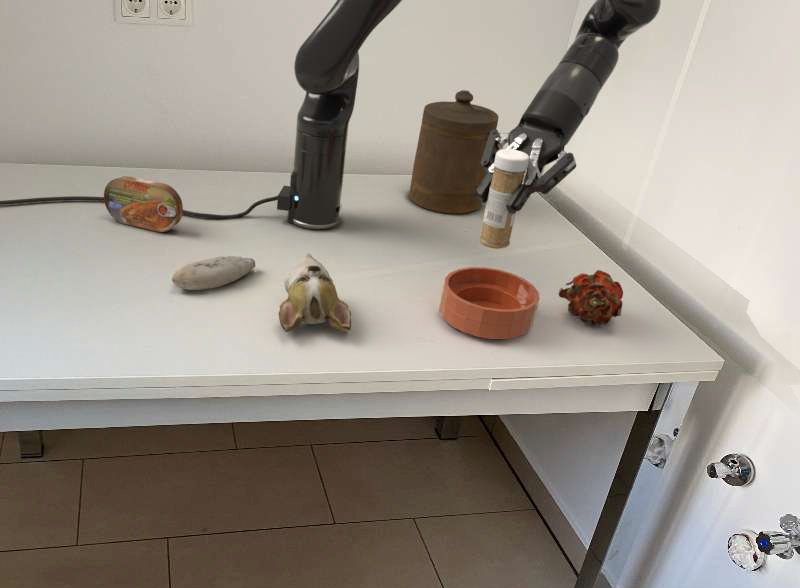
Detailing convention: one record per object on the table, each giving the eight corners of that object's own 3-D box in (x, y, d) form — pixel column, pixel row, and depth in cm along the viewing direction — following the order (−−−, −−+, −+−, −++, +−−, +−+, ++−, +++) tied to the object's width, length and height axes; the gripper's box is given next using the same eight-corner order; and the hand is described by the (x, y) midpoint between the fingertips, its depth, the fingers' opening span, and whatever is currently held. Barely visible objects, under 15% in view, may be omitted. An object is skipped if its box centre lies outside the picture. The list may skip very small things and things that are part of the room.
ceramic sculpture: (343, 244, 120) (359, 296, 109) (338, 292, 126) (353, 347, 114) (274, 243, 119) (283, 296, 107) (271, 292, 124) (279, 347, 113)
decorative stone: (264, 276, 129) (265, 257, 127) (185, 301, 120) (185, 281, 119) (241, 262, 133) (242, 243, 131) (163, 285, 124) (162, 266, 122)
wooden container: (490, 199, 166) (514, 91, 153) (464, 220, 155) (486, 106, 143) (426, 182, 172) (444, 77, 159) (396, 201, 161) (412, 90, 149)
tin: (104, 219, 144) (101, 174, 139) (113, 213, 146) (110, 169, 141) (177, 237, 140) (176, 191, 135) (185, 230, 142) (185, 185, 137)
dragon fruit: (593, 348, 120) (566, 319, 131) (645, 319, 119) (613, 292, 129) (570, 304, 117) (544, 278, 128) (624, 274, 115) (593, 250, 126)
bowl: (436, 335, 117) (442, 302, 114) (440, 292, 129) (446, 261, 126) (533, 350, 116) (542, 317, 113) (528, 305, 127) (536, 274, 124)
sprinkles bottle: (515, 246, 116) (537, 156, 108) (493, 252, 113) (513, 160, 106) (493, 234, 119) (512, 146, 111) (471, 240, 116) (489, 150, 109)
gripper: (511, 76, 113) (446, 175, 112) (603, 100, 105) (532, 207, 104) (523, 109, 119) (461, 203, 118) (610, 134, 111) (544, 235, 110)
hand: (495, 204), depth 111 cm, fingers closed on sprinkles bottle, 4 cm apart
